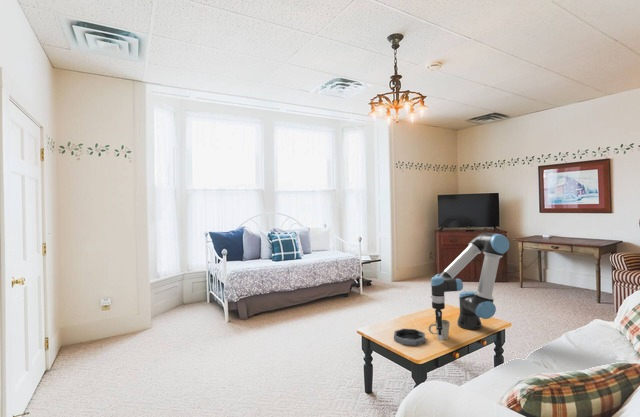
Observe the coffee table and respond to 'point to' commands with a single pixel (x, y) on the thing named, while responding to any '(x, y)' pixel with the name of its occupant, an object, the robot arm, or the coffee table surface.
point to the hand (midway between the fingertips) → (439, 335)
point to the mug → (444, 328)
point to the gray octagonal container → (409, 337)
